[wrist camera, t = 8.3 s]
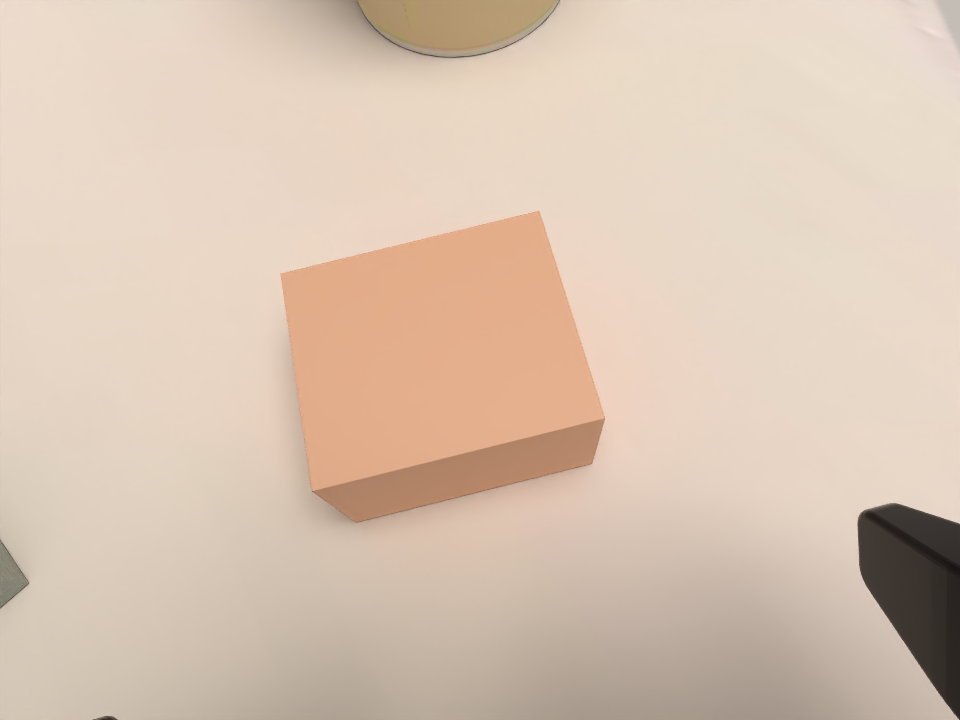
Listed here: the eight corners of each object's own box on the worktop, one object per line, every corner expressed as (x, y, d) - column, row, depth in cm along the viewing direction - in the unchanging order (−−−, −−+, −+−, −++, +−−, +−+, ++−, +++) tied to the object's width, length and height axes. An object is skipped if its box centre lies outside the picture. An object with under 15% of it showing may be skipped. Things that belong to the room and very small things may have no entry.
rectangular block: (592, 463, 19) (604, 418, 15) (356, 522, 19) (312, 491, 15) (539, 287, 21) (539, 210, 17) (326, 340, 21) (280, 273, 17)
